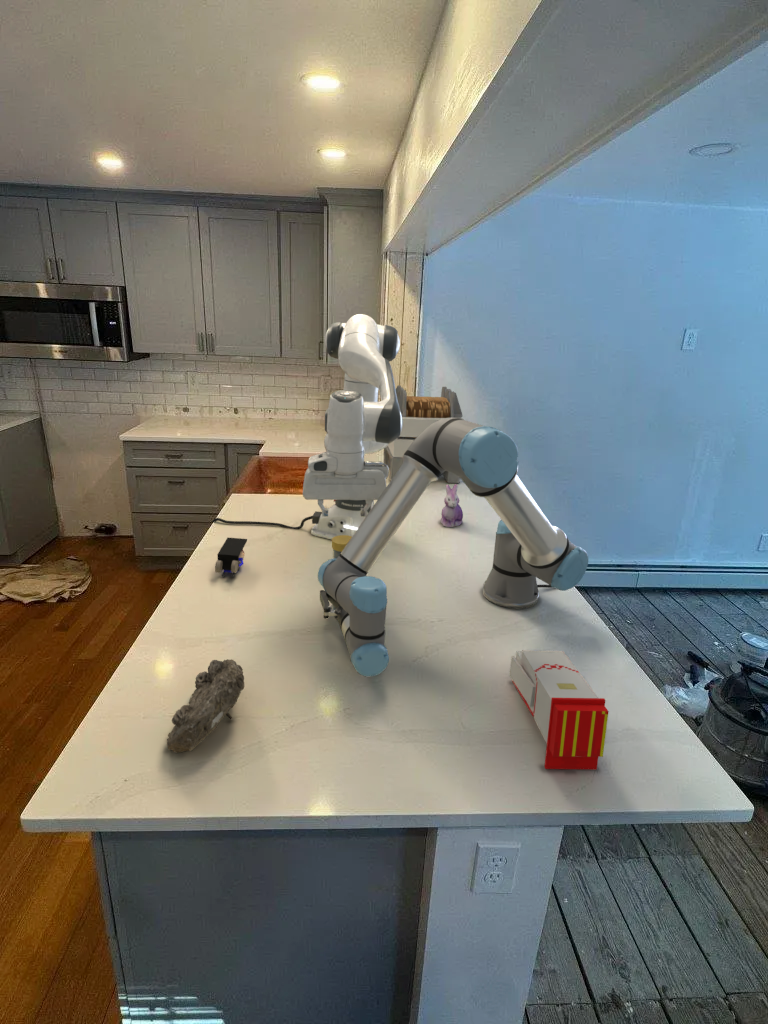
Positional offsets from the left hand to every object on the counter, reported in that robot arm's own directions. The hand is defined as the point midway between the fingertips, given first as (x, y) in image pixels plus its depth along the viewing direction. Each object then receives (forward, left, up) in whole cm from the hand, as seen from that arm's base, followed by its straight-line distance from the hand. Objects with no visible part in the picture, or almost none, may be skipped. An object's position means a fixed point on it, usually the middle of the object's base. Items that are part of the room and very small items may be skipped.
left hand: (344, 516), depth 139 cm
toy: (+52, -25, -27) cm, 64 cm away
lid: (0, 0, -7) cm, 7 cm away
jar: (0, 0, -27) cm, 27 cm away
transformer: (-10, +137, -27) cm, 140 cm away
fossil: (-10, -46, -27) cm, 54 cm away
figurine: (+16, +75, -27) cm, 81 cm away
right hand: (-3, +5, -20) cm, 21 cm away
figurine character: (-39, +12, -27) cm, 48 cm away
